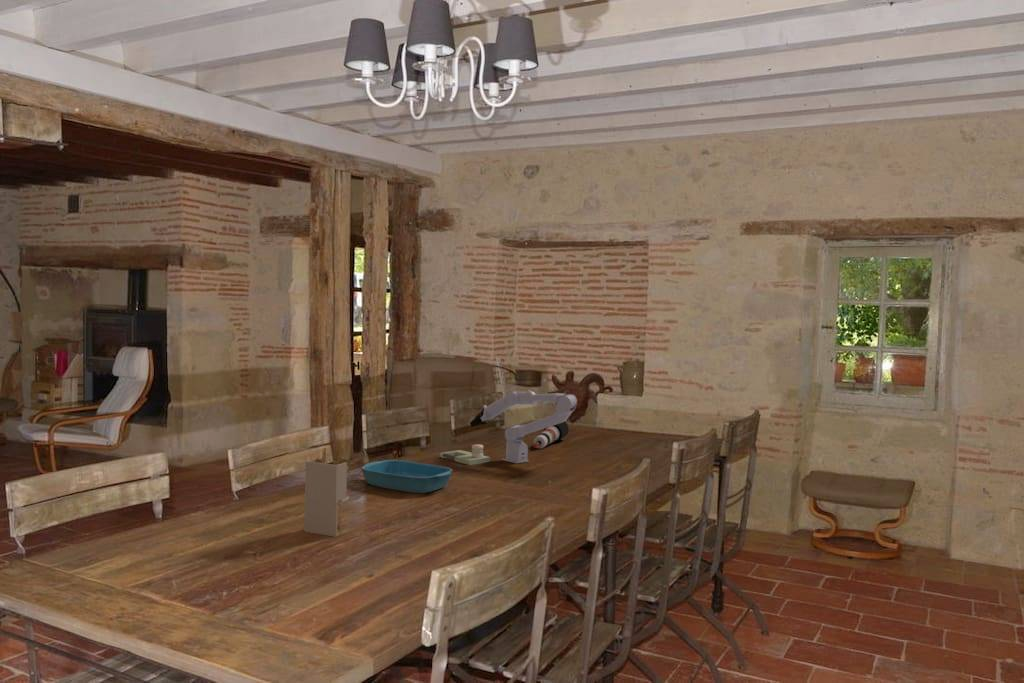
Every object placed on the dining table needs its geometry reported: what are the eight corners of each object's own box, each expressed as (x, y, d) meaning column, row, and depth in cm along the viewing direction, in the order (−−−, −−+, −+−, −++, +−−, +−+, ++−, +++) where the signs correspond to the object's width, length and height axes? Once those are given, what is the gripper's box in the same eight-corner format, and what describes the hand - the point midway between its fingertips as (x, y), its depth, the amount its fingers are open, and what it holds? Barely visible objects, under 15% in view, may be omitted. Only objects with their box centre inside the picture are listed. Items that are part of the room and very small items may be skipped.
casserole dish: (349, 484, 307) (350, 465, 307) (386, 474, 327) (387, 456, 326) (428, 499, 289) (429, 479, 289) (463, 487, 308) (463, 468, 308)
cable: (531, 458, 388) (522, 439, 389) (555, 440, 419) (546, 423, 420) (548, 451, 384) (539, 432, 385) (571, 433, 415) (563, 415, 416)
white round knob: (485, 457, 356) (485, 445, 356) (476, 458, 353) (477, 446, 353) (477, 455, 360) (478, 444, 360) (469, 456, 356) (469, 445, 356)
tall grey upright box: (336, 538, 240) (338, 453, 239) (304, 532, 245) (305, 449, 243) (351, 531, 247) (353, 449, 246) (319, 526, 252) (321, 445, 250)
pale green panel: (490, 461, 356) (490, 457, 356) (469, 465, 348) (469, 460, 348) (460, 454, 371) (460, 450, 370) (439, 457, 362) (440, 453, 362)
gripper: (496, 395, 369) (473, 409, 373) (487, 405, 355) (463, 420, 360) (505, 408, 369) (482, 422, 374) (496, 418, 356) (472, 433, 360)
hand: (473, 422), depth 367 cm, fingers open, 7 cm apart
